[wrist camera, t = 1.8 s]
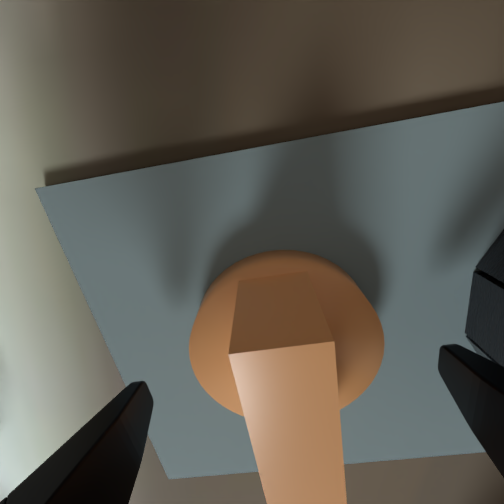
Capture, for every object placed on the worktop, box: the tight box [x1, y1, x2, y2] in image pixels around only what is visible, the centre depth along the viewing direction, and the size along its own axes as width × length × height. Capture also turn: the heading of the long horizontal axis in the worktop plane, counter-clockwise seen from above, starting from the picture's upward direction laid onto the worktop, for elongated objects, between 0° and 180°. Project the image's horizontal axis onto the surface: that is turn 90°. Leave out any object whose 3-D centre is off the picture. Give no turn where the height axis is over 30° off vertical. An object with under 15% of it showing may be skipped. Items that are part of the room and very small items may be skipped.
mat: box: [35, 102, 504, 479], centre depth 10 cm, size 15×25×1 cm, turn 100°
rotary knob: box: [189, 250, 385, 504], centre depth 8 cm, size 6×6×4 cm
